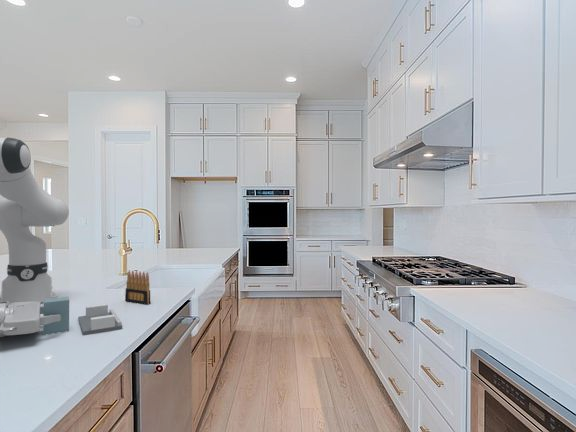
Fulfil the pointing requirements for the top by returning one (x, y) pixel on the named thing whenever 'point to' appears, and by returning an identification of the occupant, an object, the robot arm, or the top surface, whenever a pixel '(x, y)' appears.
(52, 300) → the block
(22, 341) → the top surface
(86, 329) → the mounting board
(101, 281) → the top surface
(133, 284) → the ammunition clip
